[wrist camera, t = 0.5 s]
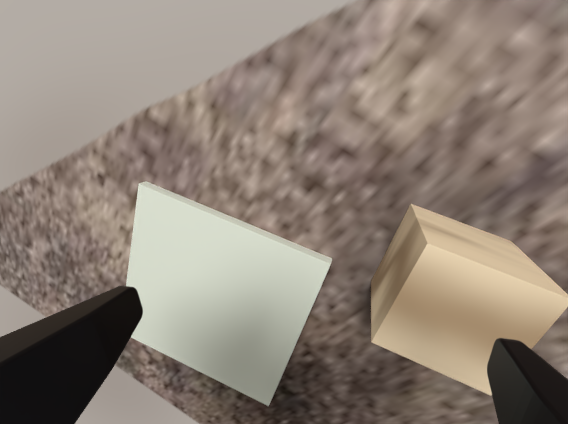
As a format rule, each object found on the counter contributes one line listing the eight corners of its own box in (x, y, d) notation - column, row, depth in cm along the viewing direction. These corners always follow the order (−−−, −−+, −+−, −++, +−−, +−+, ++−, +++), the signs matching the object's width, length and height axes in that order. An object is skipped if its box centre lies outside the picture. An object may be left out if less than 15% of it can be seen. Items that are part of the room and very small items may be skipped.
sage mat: (271, 398, 27) (268, 406, 26) (126, 326, 29) (120, 331, 28) (332, 258, 21) (330, 264, 20) (146, 181, 23) (138, 183, 22)
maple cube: (458, 317, 20) (490, 395, 15) (370, 280, 21) (371, 342, 15) (510, 240, 18) (573, 300, 12) (410, 203, 19) (427, 243, 13)
